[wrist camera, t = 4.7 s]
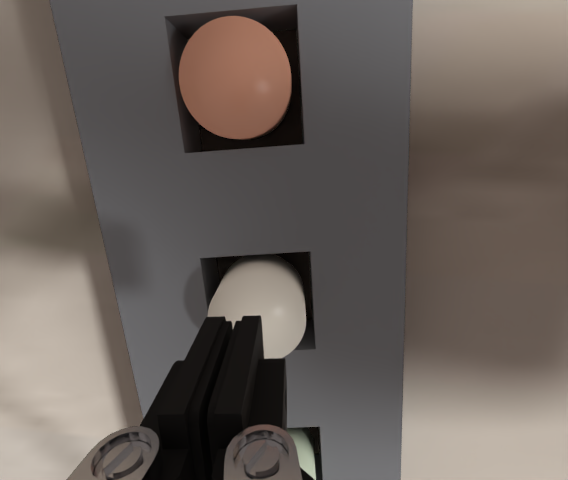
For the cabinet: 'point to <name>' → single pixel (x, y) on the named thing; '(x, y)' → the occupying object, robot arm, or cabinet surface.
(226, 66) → the terracotta button
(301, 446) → the sage button
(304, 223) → the button panel
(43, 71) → the cabinet surface
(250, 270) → the cream button
